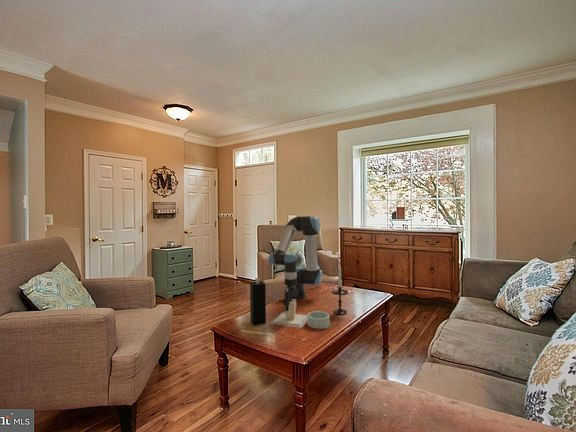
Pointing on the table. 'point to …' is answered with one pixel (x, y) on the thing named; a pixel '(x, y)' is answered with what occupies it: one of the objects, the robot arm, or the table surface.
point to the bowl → (318, 319)
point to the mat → (288, 324)
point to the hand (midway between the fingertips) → (290, 312)
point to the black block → (257, 302)
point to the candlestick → (339, 292)
